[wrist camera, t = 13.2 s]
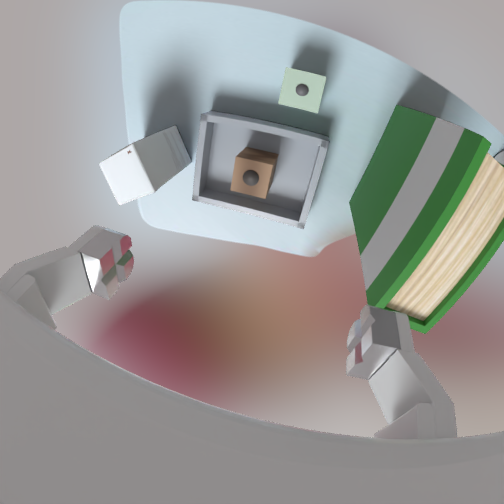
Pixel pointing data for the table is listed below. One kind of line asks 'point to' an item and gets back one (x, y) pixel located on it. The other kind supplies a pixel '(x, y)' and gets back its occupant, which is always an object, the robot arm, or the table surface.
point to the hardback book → (427, 215)
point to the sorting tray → (267, 139)
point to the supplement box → (145, 165)
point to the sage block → (302, 90)
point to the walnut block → (254, 172)
